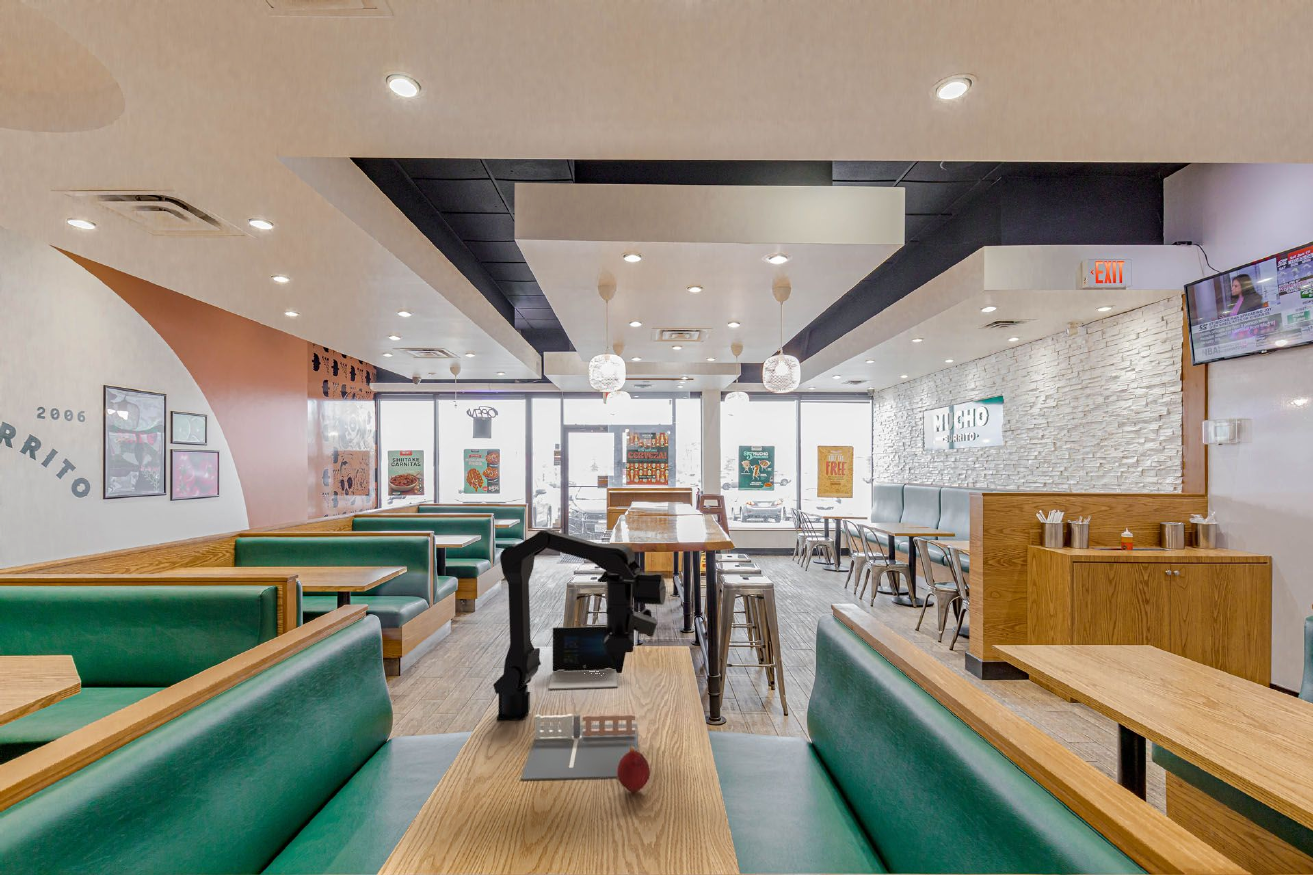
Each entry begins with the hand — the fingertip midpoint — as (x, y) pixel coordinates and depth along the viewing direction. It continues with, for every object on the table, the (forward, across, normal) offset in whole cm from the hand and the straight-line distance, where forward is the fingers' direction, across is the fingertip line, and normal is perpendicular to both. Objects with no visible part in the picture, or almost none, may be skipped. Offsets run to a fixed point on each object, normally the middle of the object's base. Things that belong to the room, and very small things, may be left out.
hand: (619, 672), depth 133 cm
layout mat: (+12, -10, +7) cm, 17 cm away
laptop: (+12, +29, +10) cm, 33 cm away
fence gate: (+12, -5, +3) cm, 13 cm away
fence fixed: (+12, -6, +14) cm, 19 cm away
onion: (+12, -26, -3) cm, 29 cm away
